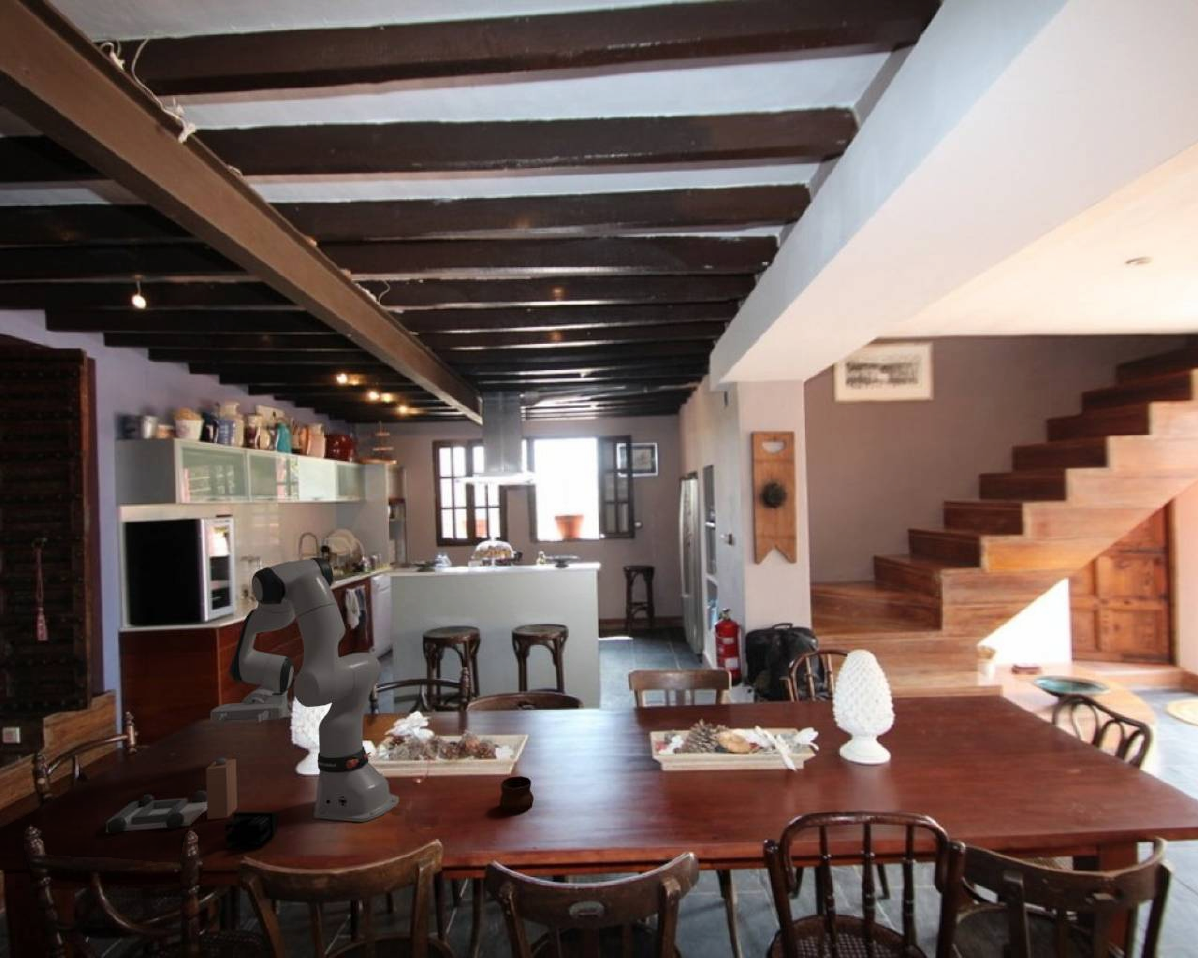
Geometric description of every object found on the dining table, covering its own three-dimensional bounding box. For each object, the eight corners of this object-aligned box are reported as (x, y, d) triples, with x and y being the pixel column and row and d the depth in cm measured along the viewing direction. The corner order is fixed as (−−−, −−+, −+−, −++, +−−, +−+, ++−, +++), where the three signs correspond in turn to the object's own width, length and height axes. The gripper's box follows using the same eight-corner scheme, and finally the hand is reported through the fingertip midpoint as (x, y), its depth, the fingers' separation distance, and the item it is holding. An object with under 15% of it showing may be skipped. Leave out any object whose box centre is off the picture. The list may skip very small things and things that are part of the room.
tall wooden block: (227, 817, 182) (226, 762, 182) (207, 819, 181) (206, 764, 182) (237, 807, 188) (235, 754, 188) (217, 809, 187) (216, 755, 188)
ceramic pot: (475, 800, 186) (475, 774, 186) (539, 789, 193) (538, 763, 193) (491, 831, 170) (491, 802, 170) (560, 817, 176) (559, 789, 176)
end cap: (279, 834, 171) (279, 807, 171) (263, 849, 164) (262, 820, 164) (241, 834, 172) (240, 807, 172) (223, 849, 165) (222, 820, 165)
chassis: (213, 802, 192) (212, 789, 192) (186, 828, 176) (185, 814, 177) (136, 808, 190) (136, 795, 190) (102, 835, 174) (101, 820, 174)
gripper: (221, 697, 210) (200, 711, 196) (292, 693, 212) (275, 707, 198) (222, 718, 210) (200, 734, 196) (292, 714, 212) (276, 729, 198)
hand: (238, 720), depth 197 cm, fingers open, 8 cm apart
